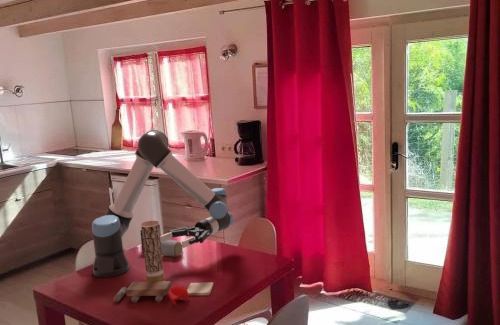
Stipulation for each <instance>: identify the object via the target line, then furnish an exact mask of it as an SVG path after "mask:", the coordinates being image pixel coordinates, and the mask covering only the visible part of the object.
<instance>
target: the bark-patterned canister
mask: <svg viewBox="0 0 500 325" xmlns="http://www.w3.org/2000/svg"><path fill="white" fill-rule="evenodd" d="M159 225H160V224H159V221H158V220H147V221H144V222H141V224H140V226H141V227H140V229H141V230H142V238H143V248H144V251H143V256H144V264H145V276H146V282H153V281H165V277H164V276H165V275H164V265H163V264H164V263H163V255H162V252H161V242H160V232H159Z"/></svg>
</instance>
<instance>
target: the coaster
mask: <svg viewBox="0 0 500 325" xmlns="http://www.w3.org/2000/svg"><path fill="white" fill-rule="evenodd" d="M213 286H214V282H212V281H211V282H190V284H189V285H188V288H187V289H186V290H187V291H188V296H189V297H190V296H210V294H211V292H212V289H213Z"/></svg>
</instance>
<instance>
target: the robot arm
mask: <svg viewBox="0 0 500 325" xmlns="http://www.w3.org/2000/svg"><path fill="white" fill-rule="evenodd" d="M134 154H135V157H136V158H135V160H134V162H133V164H132V166H131V169H130V170H129V172H128V175H127V177H126V179H125V181H124V183H123V185H122V186H121V190H119V193H118V195H117V196H116V197H117V198H116V199H115V202H114V203H112V204H110V205H108V208H107V211H106V212H105V214H104V215H101V216H100V217H97V218H95V219H94V220H93V222H92V223H91V232H92V238H93V246H94V247H93V248H94V254H95V255H94V260H93V266H92V272H93V274H92V275H93V276H94V277H97V278H111V277H116V276H119V275H122V274H124V273H126V272H127V271H128V270H129V269H130V264H129V261H128V259H127V257H126V255H125V253H124V246H123V236H124V234H125V233H126V232H127V231H128V229H129V227H130V223H131V221H132V219H133V217H134V214H133V209H134V208H135V205H136V203H137V202H138V199H139V197H140V195H141V193H142V191H143V190H144V188H145V185H146V184H147V181H148V180H149V177H150V175H151V174H152V171H153V169H154V168H155V169H160V170H162V171H163V172H164V173H165V174H166V175H168V177H170V179H172V181H174V182H175V183H176V184H177V185H178V186H180V187H181V189H183V190H184V191H185V192H187V193H188V194H189V195H190V196H191V197H193V199H195V201H197V202H198V203H199V204H201V206H202V207H204V209H206V211H208V212H209V214H210V216H209V217H206V218H204V219H202V220H199V221H197V222H196V223H195V224H194V226H192V227H190V226H188V225H187V226H183V227H179V228H175V229H169V230H168V231H167V233H165V234H161V236H160V242H161V243H162V242H165V241H167V240H173V238H177V237H187V239H184V240H181V244H182V248H183V249H185V248H188V247H189V246H191V245H194V244H198V243H199V244H203V243H204V242H205V240H206V239H207V238H209V237H210V236H213V234H216V233H217V232H220V231H223V230H226V229H227V228H229V227H231V226H232V225H233V223H234V217H233V215H232V213H231V212H230V211H229V210H228V198H227V190H226V188H223V187H216V188H210V187H208V186H207V185H206V184H205V183H204V182H203V181H202V180H201V179H200V178H199V177H197V176H196V175H195V174H194V173H193V172H192V171H191V170H189V169H188V168H187V166H185V165H184V164H183V163H182V162H180V161H179V159H177V158H176V157H175V156H174V155H173V153H172V150H171V149H170V148H169V138H168V137H167V135H166V134H165V132H163V131H161V130H158V129H151V130H148V131H146V133H144V134H143V135H141V137H140V138H139V139H138V142H137V147H136V151H135V152H134ZM188 237H189V238H188Z"/></svg>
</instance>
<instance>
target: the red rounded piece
mask: <svg viewBox="0 0 500 325" xmlns="http://www.w3.org/2000/svg"><path fill="white" fill-rule="evenodd" d="M167 295H168V297H169V299H170V301H171V302H172V303H173V305H174V306H177V300H179V299H180V298H184V299H185V300H187V302H190V296H188V291H187V289H186V288H185V287H183V286H181V285H180V286H178V285H174V286H171V288H170V290H169V292H168V294H167Z"/></svg>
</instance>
